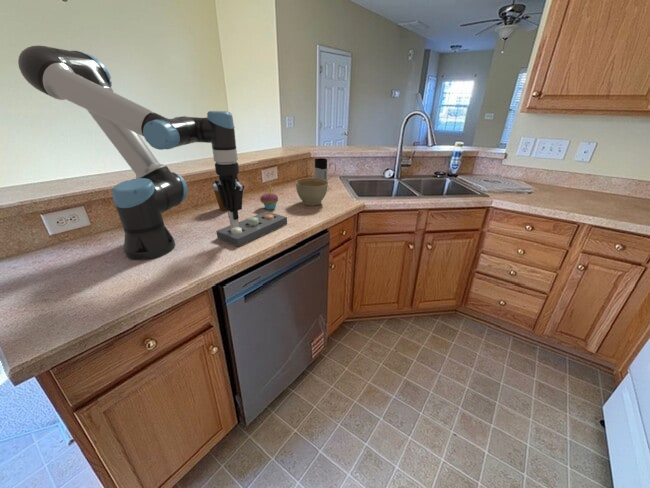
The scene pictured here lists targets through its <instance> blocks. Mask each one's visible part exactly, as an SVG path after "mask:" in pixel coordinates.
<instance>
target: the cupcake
mask: <svg viewBox="0 0 650 488" xmlns="http://www.w3.org/2000/svg"><path fill="white" fill-rule="evenodd" d="M259 200H260V202H261V203H262V204H263V206H264V208H265V209H266V210H274V209H276V207H277V206H276V205H277V203H278V201H279V197H278V195H277V194H275V193H272V184H270V185H269V193H264V194H262V195H261V196H260V197H259Z"/></svg>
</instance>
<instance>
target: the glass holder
mask: <svg viewBox="0 0 650 488" xmlns="http://www.w3.org/2000/svg"><path fill="white" fill-rule="evenodd" d="M331 164H333V165H334V173H333V174H332V175H331V176H330V177H329V178H328V170H330V168H331ZM336 171H337V165H336V163H335V162H330V163H329V165H328V159H327V158H322V157H321V158H320V157H319V158H318V157H317V158H315V159H314V178H318V179H323V180H326V181H328V180H329V179H331V178H332V177H333V176H334V175H335V173H336Z"/></svg>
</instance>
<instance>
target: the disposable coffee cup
mask: <svg viewBox="0 0 650 488" xmlns="http://www.w3.org/2000/svg"><path fill="white" fill-rule="evenodd" d="M212 189H213V192H214V194H215V195H214V196H215V198H216V201H217V204H218V205H217V206H218V209H219V210H220V211H221V212H222V211H223V212H224V211H225V212H226V211H227V212H228V210H227V209H226V207H223V204H222V201H221V198H220V194H219V191H218V187H217V185H216V183H215V182H214V183H213V184H212ZM225 204H226V203H225Z"/></svg>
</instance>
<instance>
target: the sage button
mask: <svg viewBox="0 0 650 488" xmlns="http://www.w3.org/2000/svg"><path fill="white" fill-rule="evenodd" d="M247 219H248V225H249V226H251V227H255V226H257V225H259V221H258V218H257V217H253V216H251V217H248V218H247Z"/></svg>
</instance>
